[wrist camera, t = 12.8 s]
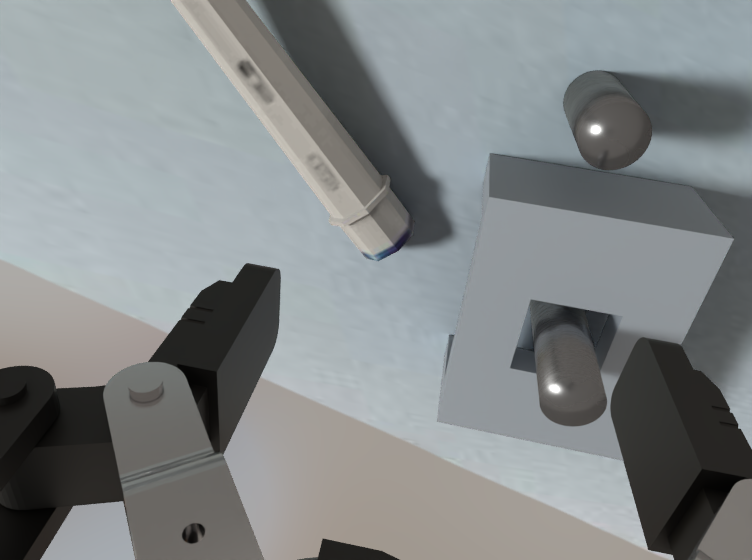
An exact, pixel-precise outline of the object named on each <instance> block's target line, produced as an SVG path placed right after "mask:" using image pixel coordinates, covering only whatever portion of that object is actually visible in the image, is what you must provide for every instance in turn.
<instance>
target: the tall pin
mask: <svg viewBox="0 0 752 560" xmlns="http://www.w3.org/2000/svg"><path fill="white" fill-rule="evenodd" d="M530 314H531V324H532V334H533V343H534V353H535V363H536V373H537V383H538V393H539V403H540V408H541V411H542V412H543V414H544V415H545V416H546V417H547V418H548V419H549V420H551V421H552V422H554V423H557V424H559V425H563V426H571V427H575V426H583V425H587V424H589V423H592V422H594V421H595V420H597V419H598V418H599V417H600V416H601V415H602V414H603V413H604V411H605V410H606V407H607V397H606V393H605V389H604V385H603V381H602V377H601V373H600V369H599V365H598V361H597V357H596V353H595V349H594V345H593V341H592V337H591V333H590V329H589V325H588V321H587V317H586V313H585V309H580V308H575V307H569V306H564V305H559V304H553V303H548V302H543V301H537V300H532V299H531V300H530Z"/></svg>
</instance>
